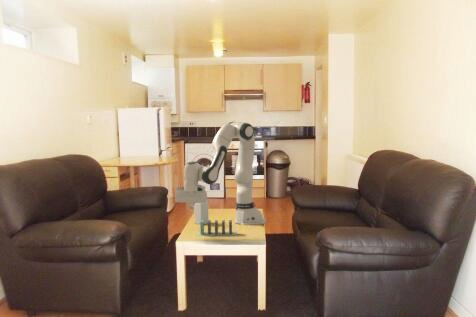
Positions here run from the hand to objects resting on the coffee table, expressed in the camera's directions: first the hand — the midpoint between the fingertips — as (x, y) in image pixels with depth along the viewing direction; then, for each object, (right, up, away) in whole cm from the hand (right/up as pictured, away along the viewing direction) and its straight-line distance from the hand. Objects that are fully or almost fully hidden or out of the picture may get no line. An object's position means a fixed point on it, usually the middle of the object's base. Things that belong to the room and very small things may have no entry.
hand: (191, 209), depth 217 cm
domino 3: (+16, -16, +2) cm, 23 cm away
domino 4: (+20, -16, +2) cm, 26 cm away
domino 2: (+11, -16, +2) cm, 20 cm away
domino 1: (+7, -16, +2) cm, 17 cm away
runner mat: (+16, -16, +2) cm, 23 cm away
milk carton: (+4, -14, +26) cm, 30 cm away
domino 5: (+25, -16, +2) cm, 30 cm away
